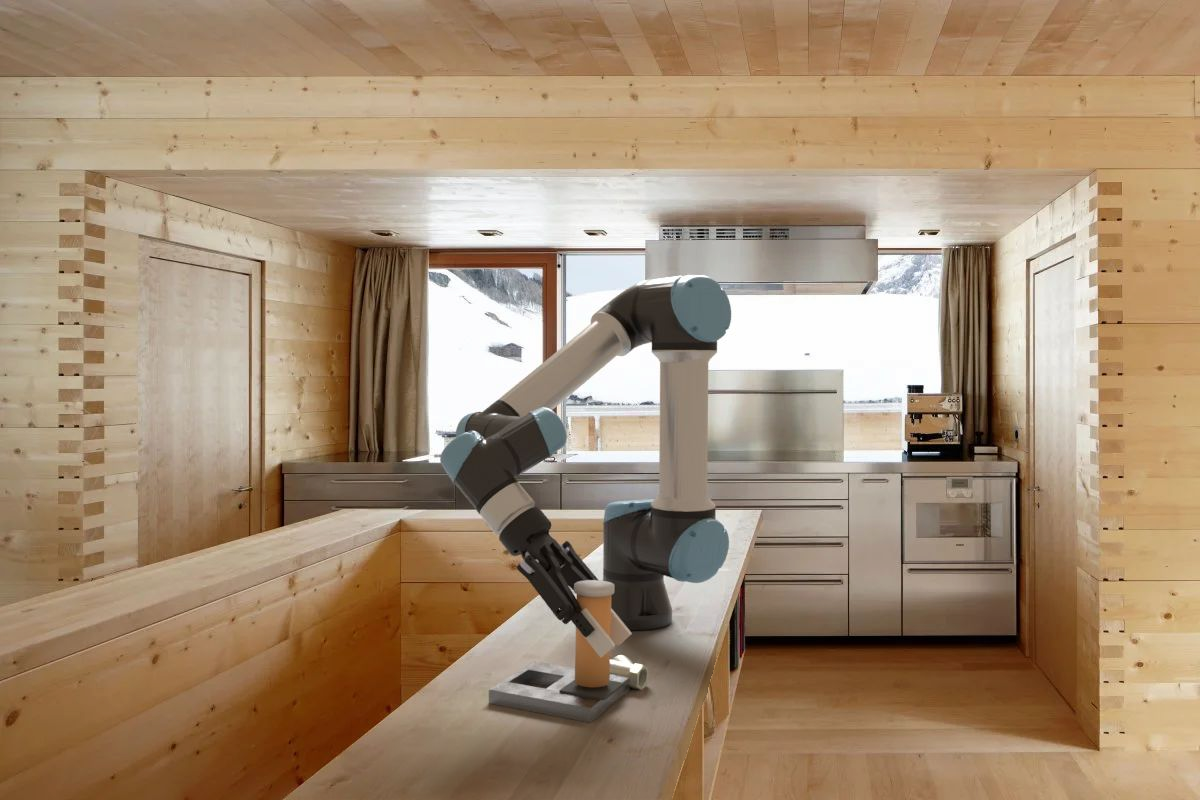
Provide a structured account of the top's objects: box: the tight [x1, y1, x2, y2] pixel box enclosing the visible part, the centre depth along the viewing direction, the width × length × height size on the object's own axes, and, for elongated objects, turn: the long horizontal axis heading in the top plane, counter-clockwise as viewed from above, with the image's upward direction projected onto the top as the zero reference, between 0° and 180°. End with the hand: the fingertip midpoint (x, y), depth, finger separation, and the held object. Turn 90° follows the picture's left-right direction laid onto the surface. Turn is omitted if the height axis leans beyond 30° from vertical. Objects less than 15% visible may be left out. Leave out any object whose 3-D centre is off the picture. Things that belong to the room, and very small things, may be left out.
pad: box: [559, 680, 624, 700], centre depth 131 cm, size 7×7×1 cm
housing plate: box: [488, 661, 631, 723], centre depth 134 cm, size 14×16×2 cm
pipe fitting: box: [610, 654, 649, 691], centre depth 141 cm, size 8×4×7 cm
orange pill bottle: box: [573, 579, 614, 687], centre depth 131 cm, size 6×6×14 cm
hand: (616, 645), depth 130 cm, fingers open, 5 cm apart
